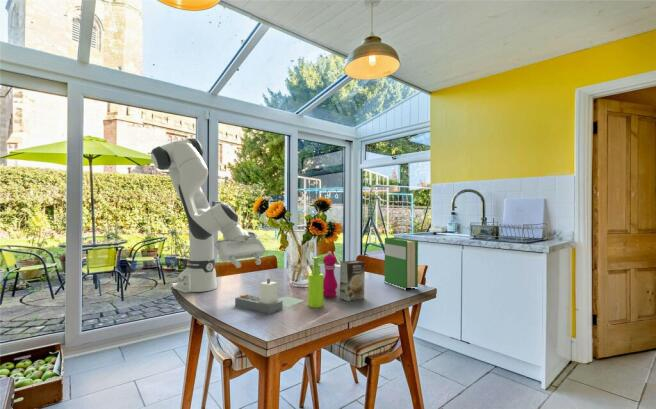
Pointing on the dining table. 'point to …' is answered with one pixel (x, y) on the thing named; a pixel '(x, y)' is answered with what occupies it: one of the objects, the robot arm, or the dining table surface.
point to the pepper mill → (329, 276)
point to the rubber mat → (289, 301)
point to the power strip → (257, 304)
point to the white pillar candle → (268, 292)
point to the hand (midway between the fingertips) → (249, 265)
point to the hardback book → (401, 262)
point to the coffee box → (352, 280)
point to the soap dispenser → (315, 285)
